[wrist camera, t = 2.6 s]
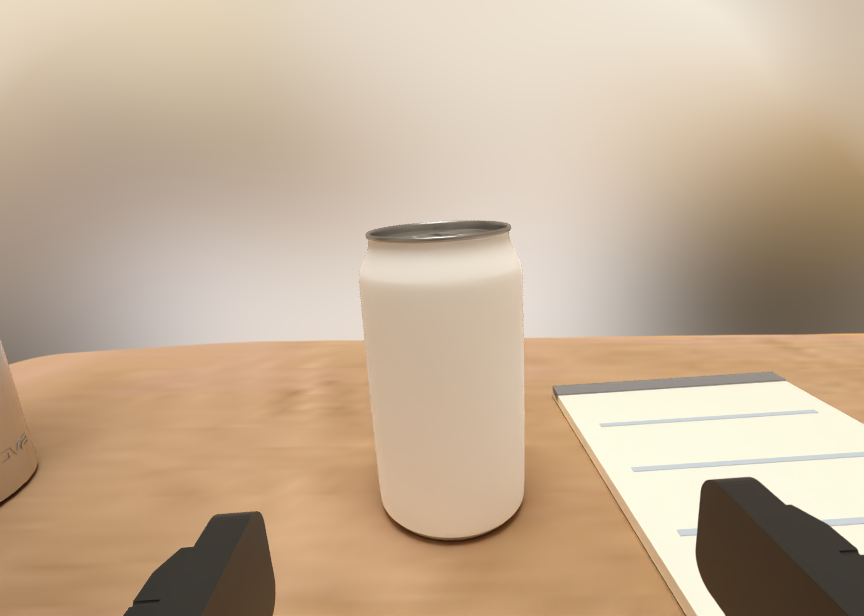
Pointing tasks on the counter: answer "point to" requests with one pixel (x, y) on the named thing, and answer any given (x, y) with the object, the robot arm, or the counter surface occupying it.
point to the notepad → (715, 458)
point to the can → (446, 374)
